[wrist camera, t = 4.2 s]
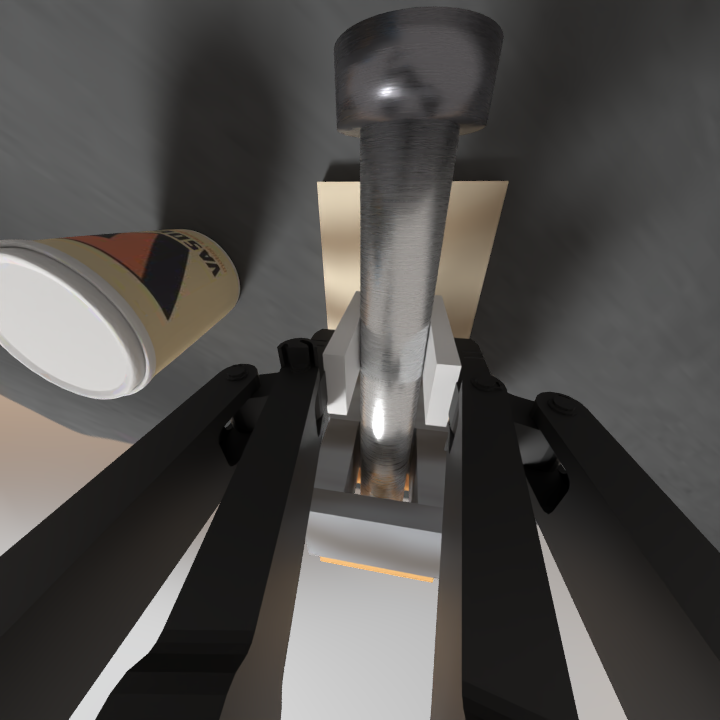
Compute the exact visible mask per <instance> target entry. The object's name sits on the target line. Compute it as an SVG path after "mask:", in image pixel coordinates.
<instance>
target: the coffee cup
mask: <svg viewBox="0 0 720 720" xmlns="http://www.w3.org/2000/svg"><path fill="white" fill-rule="evenodd" d="M239 294H240V281H239V277H238V273H237V271H236V268H235V266H234V264H233V262H232V260H231V259H230V257H229V256H228V255H227V253H226V252H225V251H224V250H223V249H222V248H221V247H220V246H219V245H218V244H217V243H216V242H215V241H213V240H212V239H210V238H209V237H207V236H205V235H203V234H201V233H199V232H196V231H192V230H187V229H172V230H156V231H142V232H129V233H115V234H102V235H90V236H77V237H66V238H55V239H45V240H34V241H29V240H19V239H13V240H1V241H0V344H1V346H2V347H4V348H5V349H6V350H7V351H8V352H9V353H10V354H11V355H13V356H14V357H15V358H16V359H17V360H18V361H20V362H21V363H22V364H24V365H25V366H26V367H28V368H29V369H30V370H32V371H33V372H35V373H36V374H38V375H40V376H41V377H43V378H44V379H46V380H48V381H50V382H52V383H53V384H55V385H57V386H59V387H61V388H64V389H66V390H68V391H71V392H73V393H76V394H79V395H82V396H86V397H90V398H96V399H114V398H119V397H121V396H125V395H130V394H133V393H136V392H138V391H139V390H141V389H143V388H144V387H145V386H146V385H147V384H148V383H149V382H150V381H151V380H152V378H153V376H155V375H156V374H157V373H158V372H160V371H161V370H162V369H163V368H164V367H166V366H167V365H168V364H169V363H171V362H172V361H173V360H174V359H175V358H177V357H178V356H179V355H180V354H181V353H182V352H184V351H185V350H186V349H187V348H188V347H189V346H191V345H192V344H193V343H194V342H195V341H197V340H198V339H199V338H200V337H201V336H202V335H204V334H205V333H206V332H207V331H208V330H209V329H210V328H212V327H213V326H214V325H215V324H216V323H217V322H219V321H220V320H221V319H222V318H223V317H224V316H225V315H226V314H228V313H229V312H230V311H231V310H232V309H233V308H234V306H235V305H236V303H237V301H238V299H239Z"/></svg>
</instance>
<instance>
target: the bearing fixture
mask: <svg viewBox="0 0 720 720" xmlns="http://www.w3.org/2000/svg"><path fill="white" fill-rule="evenodd" d="M508 182H509V181H452V186H451V192H450V199H449V205H448V212H447V218H446V225H445V231H444V237H443V244H442V250H441V257H440V263H439V270H438V276H437V282H436V289H435V295H440V296H442V298H443V301H444V305H445V309H446V312H447V316H448V319H449V323H450V327H451V330H452V334H453V337H454V338H466V339H469V337H470V333H471V329H472V325H473V321H474V317H475V313H476V309H477V305H478V301H479V297H480V294H481V290H482V286H483V282H484V278H485V274H486V270H487V266H488V262H489V258H490V254H491V250H492V246H493V242H494V238H495V234H496V230H497V226H498V222H499V218H500V214H501V210H502V206H503V202H504V198H505V194H506V190H507V186H508ZM317 188H318V201H319V214H320V228H321V241H322V255H323V268H324V281H325V295H326V308H327V321H328V329H332V330H336V328H337V326H338V324H339V322H340V320H341V318H342V317H343V315H344V313H345V311H346V309H347V307H348V305H349V303H350V302H351V300H352V298H353V296H354V294H355V292H356V291H360V182H317ZM448 421H449V418H448ZM448 433H449V424H448V422H447V426H446V427H442V426H434V425H425V410H424V393H423V376H422V379H421V385H420V392H419V398H418V405H417V411H416V418H415V424H414V430H413V437H412V443H411V450H410V456H409V463H408V469H407V474H409V502H403V501H397V500H390V499H384V498H377V497H371V496H365V495H358V494H354V493H355V488H356V483H357V477H358V472H359V468H361V461H360V370H359V374H358V378H357V381H356V385H355V388H354V392H353V395H352V399H351V402H350V406H349V409H348V413H347V415H340V414H331V413H330V416H329V423H328V426H327V429H326V431H325V434H324V437H323V440H322V443H321V446H320V452H319V458H318V464H317V470H316V476H315V483H314V489H313V495H312V501H311V507H310V513H309V519H308V525H307V532H306V538H305V540H306V543H307V548H308V552H309V554H310V555H316V556H321V557H326V558H331V559H337V560H342V561H347V562H352V563H357V564H363V565H368V566H373V567H378V568H384V569H389V570H394V571H399V572H404V573H410V574H415V575H420V576H425V577H431V578H436V579H439V571H440V555H441V538H442V521H443V505H444V488H445V471H446V454H447V451H444V448H445V444H446V440H447V437H448Z"/></svg>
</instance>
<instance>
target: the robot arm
mask: <svg viewBox="0 0 720 720" xmlns="http://www.w3.org/2000/svg"><path fill="white" fill-rule="evenodd" d="M277 348H278V353H279V358H280V363H281V369H280V372H278V373H271V374H262V375H259V374H258V370H257V368H256V367H255V366H253V365H250V364H238V365H233V366H231V367H228V368H226V369H224V370H223V371H221V372H220V373H218V374H217V375H216V376H215V377H214V378H212V379H211V380H210V381H209V382H208V383H207V384H205V385H204V386H203V387H202V388H201V389H199V390H198V391H197V392H196V393H195V394H193V395H192V396H191V397H190V398H189V399H187V400H186V401H185V402H184V403H183V404H182V405H180V406H179V407H178V408H177V409H176V410H174V411H173V412H172V413H171V414H170V415H168V416H167V417H166V418H165V419H164V420H162V421H161V422H160V423H159V424H158V425H156V426H155V427H154V428H153V429H152V430H151V431H149V432H148V433H147V434H146V435H145V436H143V437H142V438H141V439H140V440H139V441H137V442H136V443H135V444H134V445H133V446H131V447H130V448H129V449H128V450H127V451H125V452H124V453H123V454H122V455H121V456H120V457H118V458H117V459H116V460H115V461H114V462H112V463H111V464H110V465H109V466H108V467H106V468H105V469H104V470H103V471H102V472H100V473H99V474H98V475H97V476H96V477H95V478H93V479H92V480H91V481H90V482H89V483H87V484H86V485H85V486H84V487H83V488H81V489H80V490H79V491H78V492H77V493H75V494H74V495H73V496H72V497H71V498H69V499H68V500H67V501H66V502H65V503H64V504H62V505H61V506H60V507H59V508H58V509H56V510H55V511H54V512H53V513H52V514H50V515H49V516H48V517H47V518H46V519H44V520H43V521H42V522H41V523H40V524H38V525H37V526H36V527H35V528H34V529H32V530H31V531H30V532H29V533H28V534H27V535H25V536H24V537H23V538H22V539H21V540H19V541H18V542H17V543H16V544H15V545H14V546H12V547H11V548H10V549H9V550H8V551H6V552H5V553H4V554H3V555H2V556H0V720H69V718H70V717H71V715H72V714H73V712H74V711H75V710H76V708H77V707H78V705H79V704H80V702H81V701H82V699H83V698H84V697H85V695H86V694H87V692H88V691H89V689H90V688H91V686H92V685H93V684H94V682H95V681H96V679H97V678H98V677H99V675H100V674H101V672H102V671H103V669H104V668H105V667H106V665H107V664H108V662H109V661H110V659H111V658H112V657H113V655H114V654H115V652H116V651H117V649H118V648H119V646H120V645H121V644H122V642H123V641H124V639H125V638H126V637H127V635H128V634H129V632H130V631H131V629H132V628H133V627H134V625H135V624H136V622H137V621H138V619H139V618H140V616H141V615H142V614H143V612H144V611H145V609H146V608H147V606H148V605H149V604H150V602H151V601H152V599H153V598H154V596H155V595H156V594H157V592H158V591H159V589H160V588H161V586H162V585H163V584H164V582H165V581H166V579H167V578H168V576H169V575H170V574H171V572H172V571H173V569H174V568H175V566H176V565H177V564H178V562H179V561H180V559H181V558H182V556H183V555H184V554H185V552H186V551H187V549H188V548H189V546H190V545H191V543H192V542H193V541H194V539H195V538H196V536H197V535H198V533H199V532H200V531H201V529H202V528H203V526H204V525H205V523H206V522H207V520H208V519H209V518H210V516H211V515H212V513H213V512H214V511H215V509H216V508H217V506H218V505H219V503H220V505H219V507H218V509H217V511H216V513H215V516H214V518H213V520H212V522H211V525H210V527H209V529H208V532H207V533H206V536H205V538H204V540H203V542H202V545H201V547H200V549H199V551H198V553H197V556H196V558H195V560H194V562H193V565H192V567H191V569H190V572H189V574H188V576H187V578H186V580H185V582H184V584H183V587H182V589H181V591H180V593H179V595H178V598H177V600H176V602H175V604H174V607H173V609H172V611H171V613H170V615H169V618H168V620H167V622H166V624H165V626H164V629H163V631H162V633H161V634H160V636H159V638H158V640H157V642H156V644H155V645H154V646H153V648H152V649H151V651H150V652H149V653H148V654H147V655H146V656H145V657H143V658H142V659H141V660H140V661H139V662H138V663H136V664H135V665H134V666H133V667H132V668H131V669H129V670H128V671H127V672H126V674H125V675H124V676H123V678H122V679H121V680H120V681H119V683H118V684H117V685H116V687H115V688H114V689H113V691H112V692H111V693H110V695H109V697H108V698H107V700H106V702H105V704H104V705H103V707H102V709H101V710H100V712H99V714H98V716H97V718H96V719H95V720H281V709H282V701H281V700H282V680H283V673H284V666H285V660H286V654H287V648H288V642H289V635H290V630H291V623H292V617H293V611H294V605H295V599H296V593H297V586H298V581H299V574H300V568H301V562H302V556H303V550H304V544H305V538H306V532H307V525H308V519H309V513H310V507H311V501H312V495H313V489H314V483H315V476H316V470H317V464H318V458H319V452H320V446H321V440H322V434H323V427H324V410H325V407H326V405H327V409H328V413H331V414H340V415H347V413H348V409H349V406H350V402H351V399H352V395H353V392H354V388H355V385H356V381H357V378H358V374H359V370H360V291H356V292H355V294H354V296H353V298H352V300H351V302H350V303H349V305H348V307H347V309H346V311H345V313H344V315H343V317H342V318H341V320H340V322H339V324H338V326H337V328H336V330H332V329H321V330H320V331H318V332H316V333H315V334H314V335H313V337H312V338H311V340H310V339H307V338H294V339H290V340H287V341H285V342H283V343H281V344H280V345H279V346H278V347H277ZM422 376H423V393H424V410H425V425H434V426H442V427H446V426H447V422H448V418H449V421H450V429H449V433H448V437H447V440H446V444H445V448H444V451H447V454H446V471H445V488H444V505H443V521H442V538H441V555H440V571H439V588H438V605H437V622H436V638H435V655H434V672H433V689H432V705H431V719H430V720H579V719H578V714H577V710H576V705H575V700H574V696H573V691H572V687H571V682H570V678H569V673H568V668H567V664H566V659H565V655H564V650H563V645H562V641H561V636H560V632H559V627H558V623H557V618H556V613H555V609H554V604H553V600H552V595H551V591H550V586H549V581H548V577H547V573H546V568H545V563H544V558H543V554H542V549H541V545H540V540H539V536H538V531H537V526H536V522H535V519H536V521H537V523H538V525H539V527H540V529H541V532H542V534H543V536H544V538H545V540H546V543H547V545H548V547H549V549H550V551H551V553H552V556H553V558H554V560H555V562H556V564H557V567H558V569H559V571H560V573H561V575H562V577H563V579H564V582H565V584H566V586H567V588H568V590H569V592H570V595H571V597H572V599H573V601H574V604H575V606H576V608H577V610H578V612H579V614H580V617H581V619H582V621H583V623H584V625H585V627H586V630H587V632H588V634H589V636H590V638H591V640H592V643H593V645H594V647H595V649H596V651H597V653H598V656H599V658H600V660H601V662H602V664H603V667H604V669H605V671H606V673H607V675H608V678H609V680H610V682H611V684H612V686H613V688H614V690H615V693H616V695H617V697H618V699H619V701H620V704H621V706H622V708H623V710H624V712H625V715H626V717H627V719H628V720H720V553H719V552H718V550H717V549H716V548H715V547H714V546H713V545H712V544H711V543H710V542H709V541H708V540H707V539H706V537H705V536H704V535H703V534H702V533H701V532H700V531H699V530H698V529H697V528H696V527H695V525H694V524H693V523H692V522H691V521H690V520H689V519H688V518H687V517H686V516H685V515H684V514H683V512H682V511H681V510H680V509H679V508H678V507H677V506H676V505H675V504H674V503H673V502H672V501H671V499H670V498H669V497H668V496H667V495H666V494H665V493H664V492H663V491H662V490H661V489H660V487H659V486H658V485H657V484H656V483H655V482H654V481H653V480H652V479H651V478H650V477H649V476H648V474H647V473H646V472H645V471H644V470H643V469H642V468H641V467H640V466H639V465H638V464H637V462H636V461H635V460H634V459H633V458H632V457H631V456H630V455H629V454H628V453H627V452H626V451H625V449H624V448H623V447H622V446H621V445H620V444H619V443H618V442H617V441H616V440H615V439H614V437H613V436H612V435H611V434H610V433H609V432H608V431H607V430H606V429H605V428H604V427H603V426H602V424H601V423H600V422H599V421H598V420H597V419H596V418H595V417H594V416H593V415H592V414H591V412H590V411H589V410H588V409H587V408H586V407H585V406H583V405H582V404H581V403H580V402H578V401H577V400H575V399H573V398H571V397H569V396H567V395H564V394H560V393H554V392H543V393H540V394H539V395H537V397H536V399H535V401H531V400H527V399H524V398H521V397H517V396H514V395H512V394H509V393H507V389H506V387H505V385H504V384H503V383H502V382H501V381H500V380H499V379H497V378H495V377H493V376H491V375H490V372H489V370H488V367H487V365H486V363H485V360H484V359H483V356H482V353H481V351H480V348H479V346H478V345H477V344H476V343H475V342H474V341H473V340H471V339H466V338H454V337H453V334H452V330H451V327H450V323H449V319H448V316H447V312H446V309H445V305H444V301H443V298H442V296H440V295H434V302H433V308H432V315H431V321H430V327H429V334H428V340H427V347H426V353H425V359H424V366H423V372H422ZM229 420H231V423H230V425H229V426H228V427H226V428H225V427H224V426H225V425H226V423H227V422H228V421H229ZM561 464H562V465H563V466H562V465H561ZM563 467H564V468H565V469H564V468H563ZM534 516H535V517H534Z"/></svg>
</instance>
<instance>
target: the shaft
mask: <svg viewBox="0 0 720 720" xmlns="http://www.w3.org/2000/svg"><path fill="white" fill-rule="evenodd" d="M503 37H504V36H503V31H502V29H501V27H500V26H499V25H498V24H497V23H496V22H495V21H494V20H492V19H491V18H489V17H487V16H485V15H482V14H480V13H477V12H474V11H470V10H465V9H460V8H451V7H415V8H408V9H401V10H396V11H391V12H387V13H383V14H379V15H376V16H373V17H371V18H368V19H365V20H363V21H361V22H359V23H357V24H355V25H353V26H352V27H350V28H349V29H347V30H346V31H345V32H344V33H343V34H342V35H341V36H340V37H339V38H338V39H337V41H336V43H335V47H334V63H335V90H336V116H337V130H338V131H339V132H340V133H342V134H345V135H348V136H352V137H358V138H360V461H361V495H365V496H371V497H377V498H384V499H390V500H397V501H403V495H404V488H405V482H406V475H407V469H408V463H409V456H410V450H411V443H412V437H413V430H414V424H415V418H416V411H417V405H418V398H419V392H420V385H421V379H422V372H423V366H424V359H425V353H426V347H427V340H428V334H429V327H430V321H431V315H432V308H433V302H434V295H435V289H436V282H437V276H438V270H439V263H440V257H441V250H442V244H443V237H444V231H445V225H446V218H447V212H448V205H449V199H450V192H451V186H452V180H453V173H454V167H455V160H456V154H457V147H458V141H459V135H464V134H469V133H472V132H476V131H479V130H481V129H483V128H484V127H485V126H486V125H487V120H488V115H489V110H490V105H491V100H492V94H493V89H494V84H495V79H496V74H497V69H498V64H499V59H500V53H501V48H502V43H503Z"/></svg>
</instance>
